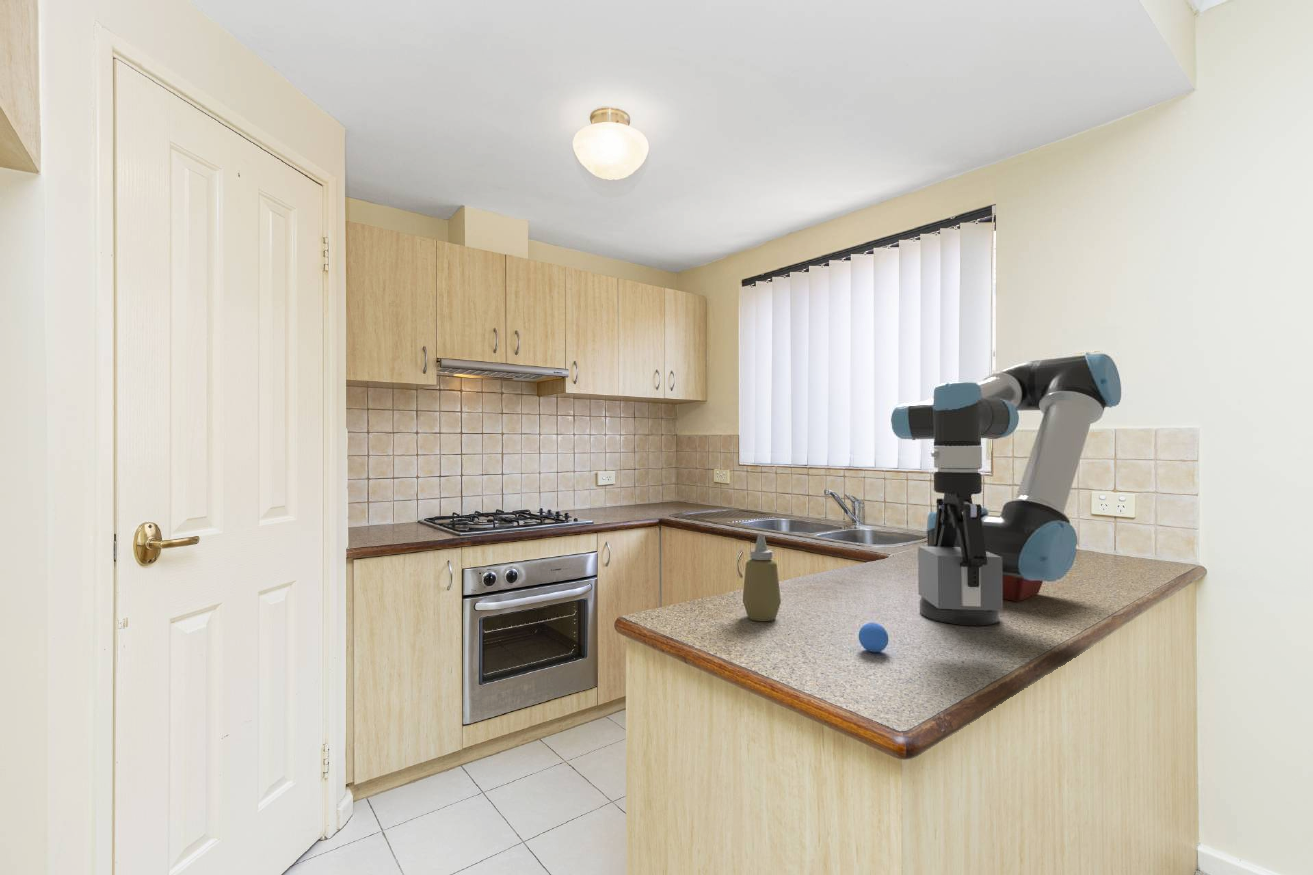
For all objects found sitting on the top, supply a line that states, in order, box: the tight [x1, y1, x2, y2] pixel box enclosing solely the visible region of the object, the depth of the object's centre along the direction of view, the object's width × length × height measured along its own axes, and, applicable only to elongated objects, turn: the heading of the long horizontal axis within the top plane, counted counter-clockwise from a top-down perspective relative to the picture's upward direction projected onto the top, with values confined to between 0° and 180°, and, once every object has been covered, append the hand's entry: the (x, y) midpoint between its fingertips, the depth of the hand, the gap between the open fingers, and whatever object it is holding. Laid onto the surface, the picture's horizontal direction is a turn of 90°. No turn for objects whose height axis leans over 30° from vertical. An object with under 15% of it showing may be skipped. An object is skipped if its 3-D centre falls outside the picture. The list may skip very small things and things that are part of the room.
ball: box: [858, 622, 889, 653], centre depth 105 cm, size 5×5×5 cm
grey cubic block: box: [917, 545, 1004, 612], centre depth 104 cm, size 10×10×9 cm
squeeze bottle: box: [742, 532, 782, 622], centre depth 126 cm, size 8×8×18 cm
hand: (958, 597), depth 104 cm, fingers closed on grey cubic block, 10 cm apart
